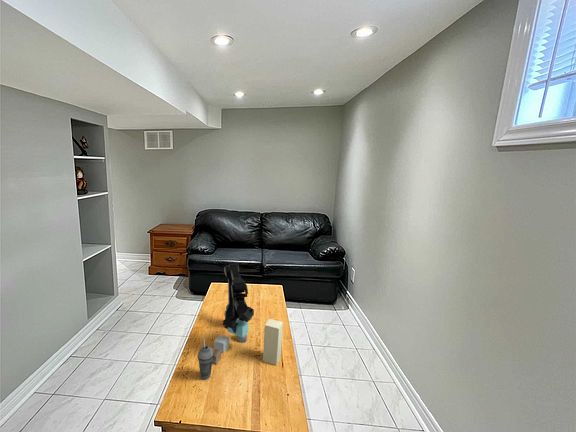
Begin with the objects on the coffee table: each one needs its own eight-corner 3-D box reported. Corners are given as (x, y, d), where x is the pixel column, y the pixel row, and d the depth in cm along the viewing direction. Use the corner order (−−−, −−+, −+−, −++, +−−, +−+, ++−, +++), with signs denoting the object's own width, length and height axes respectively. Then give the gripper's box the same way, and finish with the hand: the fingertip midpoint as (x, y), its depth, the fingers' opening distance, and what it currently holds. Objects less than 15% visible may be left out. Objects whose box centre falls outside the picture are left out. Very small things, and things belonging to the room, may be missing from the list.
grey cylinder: (236, 340, 155) (236, 331, 154) (241, 336, 159) (241, 327, 158) (243, 343, 153) (243, 334, 152) (248, 339, 157) (248, 330, 156)
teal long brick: (227, 331, 147) (227, 321, 146) (233, 327, 152) (233, 317, 151) (242, 337, 143) (242, 327, 142) (247, 332, 147) (248, 323, 146)
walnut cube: (207, 363, 137) (207, 354, 136) (212, 356, 142) (212, 348, 141) (216, 365, 136) (216, 356, 135) (220, 358, 140) (220, 350, 140)
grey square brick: (213, 350, 146) (213, 341, 145) (219, 344, 152) (220, 334, 150) (223, 353, 144) (223, 343, 143) (229, 346, 150) (229, 337, 149)
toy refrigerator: (281, 356, 144) (283, 321, 140) (276, 365, 137) (278, 328, 134) (268, 352, 147) (269, 317, 143) (262, 361, 140) (264, 325, 136)
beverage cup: (204, 384, 123) (204, 346, 120) (194, 377, 127) (193, 339, 123) (216, 375, 129) (216, 337, 126) (206, 368, 133) (206, 332, 129)
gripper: (239, 316, 132) (238, 344, 135) (260, 301, 149) (259, 326, 151) (222, 310, 137) (221, 337, 140) (244, 295, 154) (243, 320, 157)
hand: (237, 330), depth 147 cm, fingers closed on teal long brick, 5 cm apart
